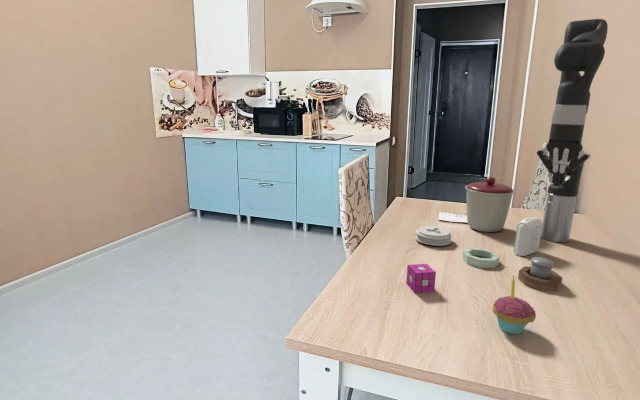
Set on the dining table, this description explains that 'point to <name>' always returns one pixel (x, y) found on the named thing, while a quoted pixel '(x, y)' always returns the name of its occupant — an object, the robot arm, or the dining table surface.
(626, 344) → the dining table surface
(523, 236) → the photo printer
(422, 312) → the dining table surface
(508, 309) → the cupcake
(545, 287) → the walnut ring
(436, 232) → the lid
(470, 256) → the sage ring
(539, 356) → the dining table surface
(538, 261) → the cap
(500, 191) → the canister
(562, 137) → the robot arm
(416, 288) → the puzzle toy
